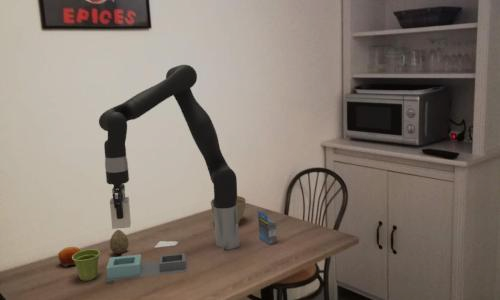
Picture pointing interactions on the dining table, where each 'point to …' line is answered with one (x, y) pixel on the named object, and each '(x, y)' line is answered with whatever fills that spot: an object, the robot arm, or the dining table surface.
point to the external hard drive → (166, 243)
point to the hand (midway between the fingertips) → (120, 216)
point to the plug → (126, 215)
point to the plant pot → (87, 263)
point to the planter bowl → (240, 207)
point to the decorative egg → (119, 242)
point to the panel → (144, 266)
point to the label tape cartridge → (266, 229)
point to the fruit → (67, 255)
